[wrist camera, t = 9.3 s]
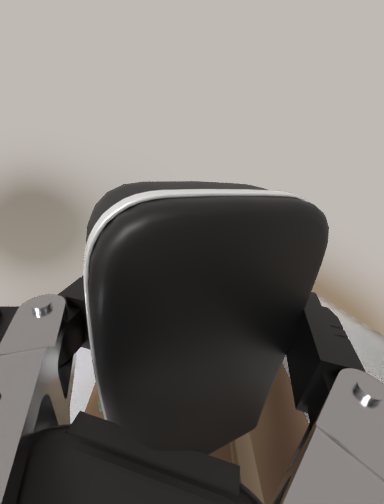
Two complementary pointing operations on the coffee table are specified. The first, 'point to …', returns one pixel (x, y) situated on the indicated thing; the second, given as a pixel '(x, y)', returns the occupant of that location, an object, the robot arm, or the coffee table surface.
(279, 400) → the board
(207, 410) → the battery charger
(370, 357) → the coffee table surface
